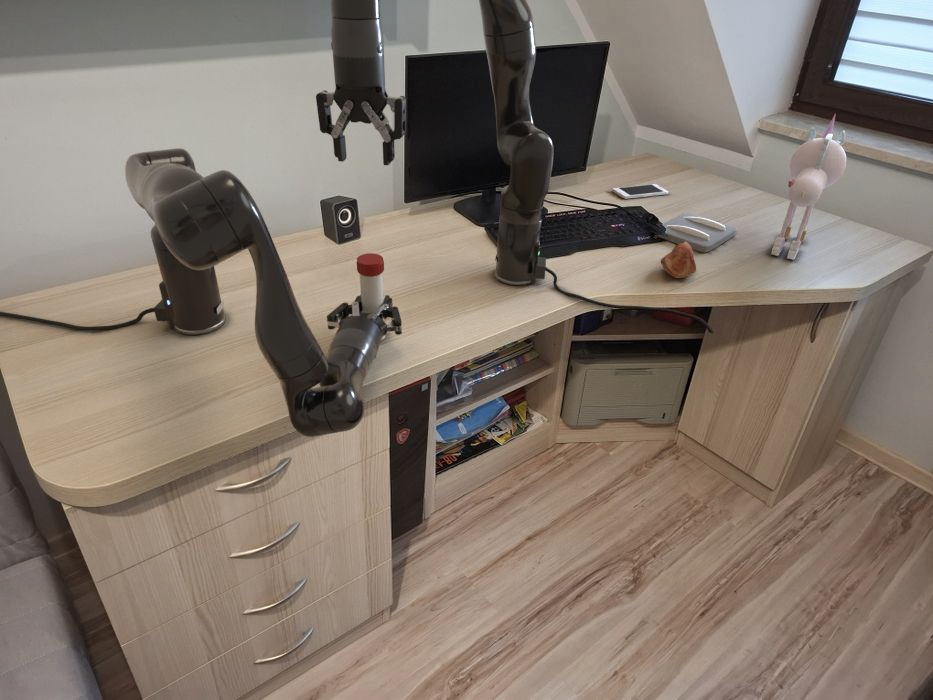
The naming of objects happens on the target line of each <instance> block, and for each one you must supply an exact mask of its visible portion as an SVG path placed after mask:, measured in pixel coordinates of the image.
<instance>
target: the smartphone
mask: <svg viewBox="0 0 933 700" xmlns="http://www.w3.org/2000/svg"><path fill="white" fill-rule="evenodd" d="M611 191H612V193H614V194H616V195H617V196H619V197H621V198H622V199H624V200H628V199H635V198H636V199H637V198H645V197H653V196H661V195H662V196H663V195H668V194H669V190H668V189H667V190H666V189H665V188H663V187H662V186H660V185H658V184H656V183H651V184H650V183H649V184H641V185H632V186H622V187H614V188H612V190H611Z"/></svg>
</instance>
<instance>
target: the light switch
mask: <svg viewBox="0 0 933 700" xmlns="http://www.w3.org/2000/svg"><path fill="white" fill-rule="evenodd" d="M661 224H662V225H663V226H664V227H665V228H666V231H665V234H667V235H668V237H665V236H662V235H658V236H657V235H654V236H655V237H657V238H659V239H663V240H665V241H669V242H671V243H674V244H676V245H678V244H681V243H684V242H685V241H687V242H688V243H689V245H690V246H691V248H692V250H694V251H697V252H699V253H709V252H711V251H712V250H714V249H716V248H717V247H719V246H720V245H722V244H724V243H725V242H727V241H730V239H732V238H734V237H736V234H737V228H736V227H734V226H732V225H729V224H725V223H722V222H719V221H716V220H713V219H710V218H707V217H703V216H700V215H697V214H694V213H690V212H683V213H682V214H679V215H677V216H675V217H673V218H671V219H669V220H668V221H666V222H663V223H661Z"/></svg>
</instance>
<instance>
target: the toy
mask: <svg viewBox="0 0 933 700" xmlns="http://www.w3.org/2000/svg"><path fill="white" fill-rule="evenodd" d="M836 116H837V115H836V112H835V113H834V115H833V116H832V119H831V120H830V122H829V124H828V126H827V128H826V130H825V131H824V133H823V134H822V136H821V137H817V138H816V136H817V128H815V127H810V129H809V130H808V133H807V135H806V136H805V142H804V143H802V144H801V145H800V146H798V148H797V149H796V150H795V151H794V152H793V154H792V156H791V159H790V162H789V173H790V175H791V178H792V180H789V181H788V188H789V189H788V198H789V201H790V202H789V205H788V209H787V212H786V215H785V218H784V221H783V223H782V227H781V230H780V233H779V235H777V236H776V239H775V241H774V243H773V246H772V249H771V253H770V255H772V256H776V257H779V255H780V253H781V252H782V249H783V248H784V246H785V242H786V240H789V238H790V234H791V232H792V227H793V225H792V223H793V219H794V217H795V213H796V211H797V208H798V207H801V208H802V207H804V208H805V210H804V213H803V216H802V219H801V222H800V225H799V227H798V230H797V233H796V237H795V239H793V240H792V242H791V245H790V247H789V250H788V253H787V256H786V259H788V260H792V261H794V260H795V259H796V257H797V255H798V253H799V251H800V249H801V245H802V244H803V243H804V240H805V238H806V235H807V231H808V228H807V227H808V224H809V221H810V218H811V215H812V212H813V209H814V207H815V204H816V202H817V201H818V200H819V199H820V197H821V195H822V193H823V191H824V189H827V188H828V187H831V186H832V185H834V184H835V183H836V182H837V181H838V180H840V178H841V177H842V176H843V174H844V173H845V170H846V168H847V167H846V166H847V154H846V152H845V150H844V148H843V145H844V143H845V141H846V140H847V134H846V131H845V130H840V131H839V132H838V133H837V135H836V137H835V139H833V129H834V125H835V120H836ZM841 135H842V138H841V141H840V137H841Z"/></svg>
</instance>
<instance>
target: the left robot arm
mask: <svg viewBox="0 0 933 700" xmlns="http://www.w3.org/2000/svg"><path fill="white" fill-rule="evenodd" d="M124 166H125V167H124V175H125V181H126V186H127V188H128V190H129V193H130V194H131V196H132V198H133V199H134V201H135V202H136V204H137V205H138V206H139V207H141V208H142V209H144V211H145V212H146V213H147V215H148V217H149V218H150V219H151V221H153V222H154V224H153V226H152V227H151V229H150V239H151V243H152V245H153V249H154V253H155V256H156V261H157V265H158V268H159V272H160V276H161V281H160V282H159V284H158V289H159V292H160V295H161V300H160V301H159V302H158V303H157V304H156V305H155V306H154V307H150V308H146V309H145V310H143V311H140V313H138V316H137V317H136V318H133V319H131V320H129V321H126V322H122V323H119V324H111V325H99V326H98V325H97V326H82V325H77V324H76V325H75V324H71V323H67V322H62V321H56V320H51V319H45V318H40V317H35V316H29V315H23V314H17V313H11V312H5V311H0V317H6V318H12V319H17V320H22V321H29V322H35V323H40V324H46V325H50V326H57V327H61V328H66V329H71V330H75V331H84V332H92V331H93V332H94V331H111V330H117V329H121V328H126V327H129V326H133V325H135V324H137V323H139V322H140V321H142V319H143V318H144V316H146V315H147V314H151V313H154V314H155V319H156V322H167V323H168V325H169V329H170V330H175V331H176V332H178V333H179V334H182V335H187V336H189V335H190V336H197V335H203V334H204V335H205V334H208V333H212V332H214V331H216V330H218V329H220V328H221V327H222V326H223V325H224V324H225V322H226V314H225V311H224V307H225V305H226V304H225V299H222V298H221V293H220V288H219V284H218V278H217V273H216V268H215V266H217V265H219V264H222V263H223V262H225V261H226V260H229V259H231V258H233V257H235V256H236V255H238V254H240V253H242V252H244V251H246V250H248V253H249V254H250V257H251V260H252V263H253V266H254V271H255V279H256V280H255V281H256V295H255V296H256V297H255V298H256V299H255V312H254V333H255V339H256V342H257V345H258V347H259V350H260V352H261V354H262V356H263V357H264V359H265V360H266V362H267V364H268V366H269V367H270V369H271V370H272V372H273V373H274V375H275V377H276V378H277V380H278V381H279V384H280V386H281V387H280V388H281V390H282V393H283V397H284V401H285V405H286V408H287V412H288V418H289V421H290V424H291V425H292V428H294V430H295V431H296V432H298V433H299V434H300V435H303V436H304V437H308V438H314V437H320V436H326V435H332V434H335V433H337V434H338V433H342V432H348V431H350V430H353V429H354V428H357V426H358V425H359V424H360V423H361V422H362V420H363V418H364V415H365V407H364V382H365V380H366V378H367V375H368V372H369V371H370V369H371V367H372V366H373V364H374V361H375V359H376V357H377V352H378V350H379V347H380V345H381V343H382V340H381V339H382V337H383V336H384V335H385V336H386V335H387V333H389V332H394V334H395V335H397V336H400V335H402V334H403V325H402V324H403V322H402V317H401V314H400V310H399V307H398V306H393V305H394V302H393V298H392V297H391V296H390V295H388V294H386V295H385V296H384V297H383V303H382V306H381V307H380V308H376V309H375V310H374V311H373V312H372V313H364V312H362V303H361V294H359V295H357V296H356V297H355V300H354V301H353V302H352V303H351V304H349V302H342V303H341V304H339V305H338V306H337V307H336V308H334V309H333V310H332V311H331V312H329V313H328V314H327V315H326V323H327V324H326V325H327V329H328V330H330V331H331V330H334V329H336V328H337V331H336V333H335V334H334V336H333V338H332V340H331V342H330V344H329V347H328V349H327V354H326V355H325V354H324V351H323V350H322V348H321V346H320V344H319V342H318V340H317V339H316V337H315V335H314V333H313V332H312V330H311V328H310V327H309V325H308V322H307V321H306V319H305V317H304V315H303V312H302V310H301V308H300V306H299V304H298V301H297V299H296V296H295V293H294V290H293V288H292V285H291V283H290V280H289V277H288V275H287V272H286V270H285V266H284V264H283V262H282V260H281V258H280V255H279V253H278V252H279V251H278V249H277V248H276V245H275V243H274V240H273V238H272V235H271V232H270V231H269V228H268V226H267V223H266V221H265V218H264V217H263V214H262V212H261V210H260V208H259V207H258V204H257V203H256V201H255V200H254V197H253V196H252V195H251V192H249V190H248V189H247V187H246V186H245V185H244V183H243V182H242V181H241V179H240V178H238V177H237V176H236V175H235V174H234V173H232V172H231V171H229V170H226V169H221V170H217V171H215V172H212V173H210V174H208V175H206V176H203V175H202V174H200V173H199V172H197V169H196V166H195V162H194V159H193V158H192V155H191V154H190V152H189V151H187V150H186V149H184V148H182V147H181V148H168V149H159V150H158V149H157V150H151V151H149V150H148V151H141V152H137V153H133V154H131V155H130V156H129V157H128V158H127V159H126V161H125V165H124ZM389 318H390V319H391V320H390V321H389V323H388V324H387V323H386V321H387V320H389ZM318 384H319V385H318ZM317 385H318V386H317ZM315 386H317V387H315Z"/></svg>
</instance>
